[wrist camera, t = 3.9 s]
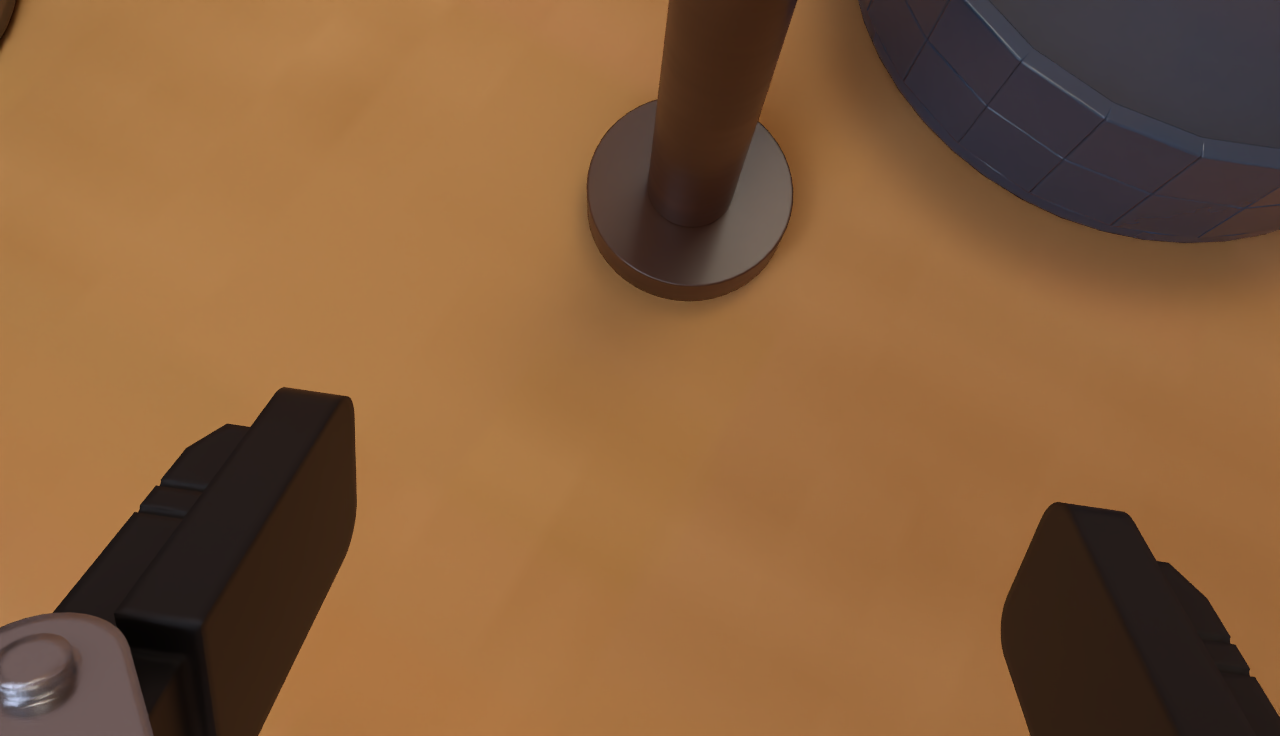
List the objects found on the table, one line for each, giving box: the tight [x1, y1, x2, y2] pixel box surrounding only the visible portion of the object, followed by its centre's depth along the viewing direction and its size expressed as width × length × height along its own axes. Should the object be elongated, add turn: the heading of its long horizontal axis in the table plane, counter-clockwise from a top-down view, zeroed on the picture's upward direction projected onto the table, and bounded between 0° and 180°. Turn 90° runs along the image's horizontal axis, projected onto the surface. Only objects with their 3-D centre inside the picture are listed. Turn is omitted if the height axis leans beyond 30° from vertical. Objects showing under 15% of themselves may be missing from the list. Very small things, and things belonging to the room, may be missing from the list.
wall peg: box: [587, 0, 797, 301], centre depth 23 cm, size 6×6×13 cm
